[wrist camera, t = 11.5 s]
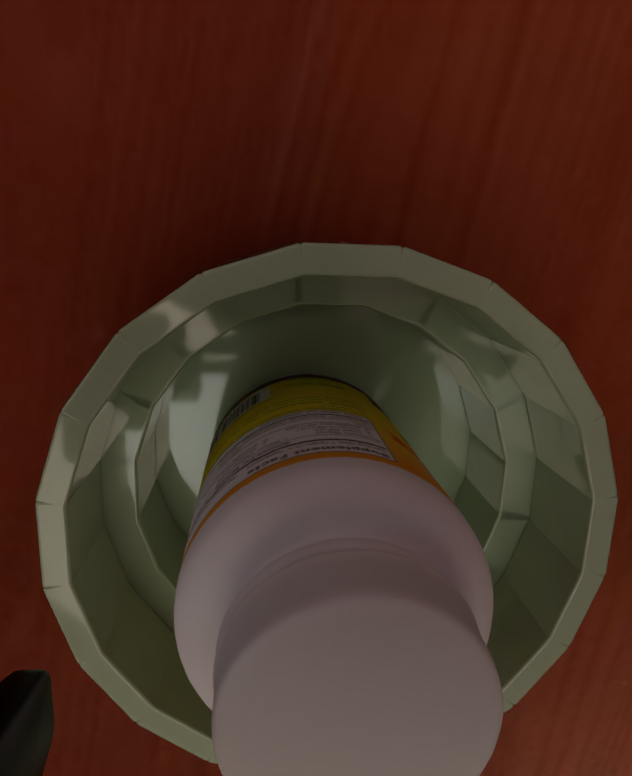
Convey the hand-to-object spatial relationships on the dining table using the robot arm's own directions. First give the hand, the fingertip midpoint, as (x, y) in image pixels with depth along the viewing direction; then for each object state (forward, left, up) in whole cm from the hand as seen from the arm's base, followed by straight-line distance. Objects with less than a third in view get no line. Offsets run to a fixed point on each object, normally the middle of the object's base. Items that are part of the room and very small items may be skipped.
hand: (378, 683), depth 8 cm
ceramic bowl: (0, 0, -10) cm, 10 cm away
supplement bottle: (0, 0, -10) cm, 10 cm away
